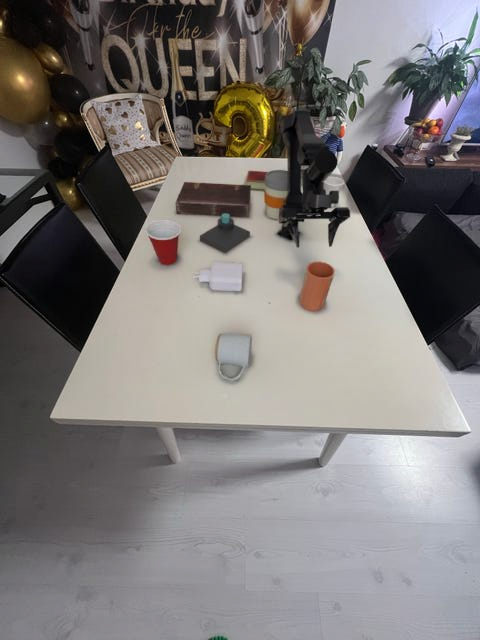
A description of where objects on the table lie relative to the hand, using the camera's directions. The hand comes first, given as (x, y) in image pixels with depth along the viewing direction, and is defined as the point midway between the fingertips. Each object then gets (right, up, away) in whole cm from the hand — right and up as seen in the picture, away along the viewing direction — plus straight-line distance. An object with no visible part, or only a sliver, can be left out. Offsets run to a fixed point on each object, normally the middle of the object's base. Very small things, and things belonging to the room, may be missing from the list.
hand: (314, 246), depth 83 cm
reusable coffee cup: (-6, +23, +40) cm, 46 cm away
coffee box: (+10, +47, +62) cm, 78 cm away
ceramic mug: (-22, -31, -10) cm, 39 cm away
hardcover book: (-7, +43, +58) cm, 72 cm away
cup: (0, -15, +5) cm, 16 cm away
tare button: (-26, +16, +27) cm, 41 cm away
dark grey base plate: (-26, +9, +26) cm, 38 cm away
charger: (-28, -9, +10) cm, 31 cm away
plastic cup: (-45, 0, +17) cm, 48 cm away
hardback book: (-31, +28, +43) cm, 60 cm away
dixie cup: (+18, +30, +47) cm, 58 cm away
